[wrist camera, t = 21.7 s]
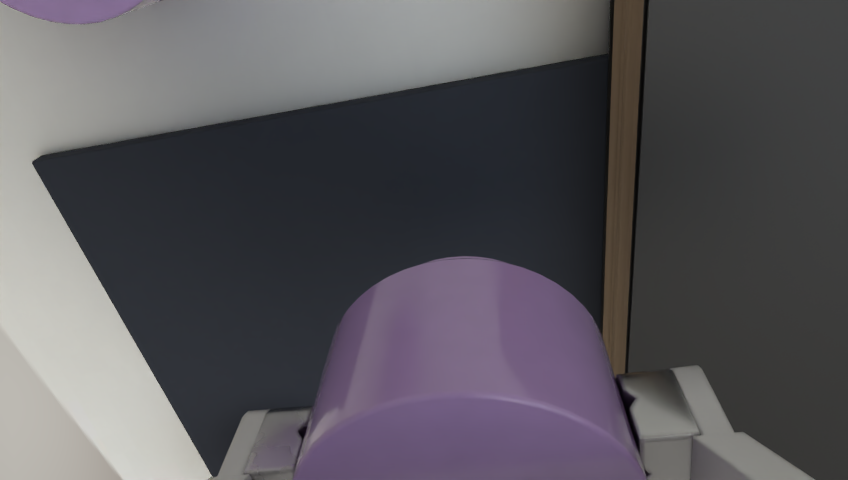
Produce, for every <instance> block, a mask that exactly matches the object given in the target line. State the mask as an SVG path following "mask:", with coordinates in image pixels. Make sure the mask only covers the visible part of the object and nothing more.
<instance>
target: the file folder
mask: <svg viewBox="0 0 848 480" xmlns="http://www.w3.org/2000/svg"><path fill="white" fill-rule="evenodd" d="M600 332H601V335H602V338H603V341H604V344H605V347H606V350H607V353H608V356H609V359H610V363H611V366H612V369H613V372H614V375H615V378H616V374H623V373H632V372H641V371H650V370H659V369H670V368H677V367H686V366H694V365H698V366H699V367H700V368H702V370H703V372H704V374H705V376H706V378H707V380H708V382H709V384H710V386H711V388H712V389H713V391H714V393H715V395H716V397H717V399H718V401H719V403H720V405H721V407H722V409H723V411H724V413H725V415H726V417H727V419H728V421H729V423H730V425H731V427H732V428H733V430H734V432H744V433H746V434H747V435H749V436H750V437H752V438H753V439H755V440H756V441H758V442H759V443H761V444H762V445H764V446H765V447H767V448H768V449H770V450H771V451H773V452H774V453H776V454H777V455H779V456H780V457H782V458H783V459H785V460H786V461H788V462H789V463H791V464H792V465H794V466H795V467H797V468H798V469H800V470H801V471H803V472H804V473H806V474H807V475H809V476H810V477H812V478H813V479H815V480H848V0H610V21H609V55H608V89H607V123H606V157H605V191H604V225H603V260H602V294H601V327H600Z"/></svg>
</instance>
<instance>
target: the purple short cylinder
mask: <svg viewBox="0 0 848 480" xmlns="http://www.w3.org/2000/svg"><path fill="white" fill-rule="evenodd" d="M159 1H162V0H0V2H2V3H4V4H5V5H7V6H9V7H11V8H13V9H15V10H18V11H20V12H23V13H25V14H28V15H30V16H33V17H36V18H40V19H43V20H47V21H50V22H57V23H64V24H90V23H98V22H103V21H106V20H109V19H113V18H116V17H119V16H121V15H124V14H127V13H129V12H132V11H135V10H138V9H140V8H143V7H146V6H148V5H151V4H154V3H157V2H159Z"/></svg>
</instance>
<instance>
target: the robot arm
mask: <svg viewBox="0 0 848 480" xmlns="http://www.w3.org/2000/svg"><path fill="white" fill-rule="evenodd" d="M616 382H617V385H618V388H619V391H620V395H621V398H622V401H623V404H624V407H625V410H626V413H627V416H628V420H629V423H630V426H631V429H632V433H633V436H634V439H635V442H636V445H637V448H638V451H639V455H640V458H641V461H642V464H643V467H644V470H645V473H646V477H647V480H815V479H813V478H812V477H810V476H809V475H807V474H806V473H804V472H803V471H801V470H800V469H798V468H797V467H795V466H794V465H792V464H791V463H789V462H788V461H786V460H785V459H783V458H782V457H780V456H779V455H777V454H776V453H774V452H773V451H771V450H770V449H768V448H767V447H765V446H764V445H762V444H761V443H759V442H758V441H756V440H755V439H753V438H752V437H750V436H749V435H747V434H746V433H744V432H734V430H733V428H732V427H731V425H730V423H729V421H728V419H727V417H726V415H725V413H724V411H723V409H722V407H721V405H720V403H719V401H718V399H717V397H716V395H715V393H714V391H713V389H712V388H711V386H710V384H709V382H708V380H707V378H706V376H705V374H704V372H703V370H702V368H700V367H699V366H698V365H694V366H686V367H677V368H670V369H659V370H650V371H641V372H632V373H623V374H616ZM312 408H313V406H301V407H288V408H275V409H268V410H254V411H248V412H247V413H246V414H245V415H243V417H242V419H241V421H240V424H239V426H238V428H237V431H236V433H235V435H234V438H233V440H232V443H231V445H230V447H229V450H228V452H227V454H226V457H225V459H224V462H223V464H222V466H221V469H220V471H219V473H218V476H217V477H210V478H209V479H208V480H292V478H293V474H294V471H295V467H296V464H297V460H298V457H299V453H300V450H301V446H302V443H303V439H304V436H305V432H306V429H307V426H308V422H309V419H310V415H311V412H312Z"/></svg>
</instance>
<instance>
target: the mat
mask: <svg viewBox="0 0 848 480" xmlns="http://www.w3.org/2000/svg"><path fill="white" fill-rule="evenodd" d="M608 55H609V54H605V55H600V56H594V57H589V58H583V59H577V60H572V61H566V62H561V63H555V64H550V65H544V66H538V67H533V68H527V69H522V70H516V71H511V72H505V73H499V74H494V75H488V76H483V77H477V78H472V79H466V80H461V81H455V82H449V83H444V84H438V85H433V86H427V87H422V88H416V89H410V90H405V91H399V92H394V93H388V94H383V95H377V96H371V97H366V98H360V99H355V100H349V101H344V102H338V103H332V104H327V105H321V106H316V107H310V108H305V109H299V110H293V111H288V112H282V113H277V114H271V115H266V116H260V117H255V118H249V119H243V120H238V121H232V122H227V123H221V124H216V125H210V126H204V127H199V128H193V129H188V130H182V131H177V132H171V133H165V134H160V135H154V136H149V137H143V138H138V139H132V140H126V141H121V142H115V143H110V144H104V145H99V146H93V147H87V148H82V149H76V150H71V151H65V152H60V153H54V154H49V155H43V156H41V157H39V158H37V159H36V160H34V161H33V162H32V164H33V166H34V167H35V169H36V171H37V173H38V174H39V176H40V178H41V180H42V181H43V183H44V185H45V187H46V188H47V190H48V192H49V193H50V195H51V197H52V199H53V200H54V202H55V204H56V206H57V207H58V209H59V211H60V213H61V214H62V216H63V218H64V219H65V221H66V223H67V225H68V226H69V228H70V230H71V232H72V233H73V235H74V237H75V239H76V240H77V242H78V244H79V246H80V247H81V249H82V251H83V252H84V254H85V256H86V258H87V259H88V261H89V263H90V265H91V266H92V268H93V270H94V272H95V273H96V275H97V277H98V278H99V280H100V282H101V284H102V285H103V287H104V289H105V291H106V292H107V294H108V296H109V298H110V299H111V301H112V303H113V305H114V306H115V308H116V310H117V311H118V313H119V315H120V317H121V318H122V320H123V322H124V324H125V325H126V327H127V329H128V331H129V332H130V334H131V336H132V337H133V339H134V341H135V343H136V344H137V346H138V348H139V350H140V351H141V353H142V355H143V357H144V358H145V360H146V362H147V364H148V365H149V367H150V369H151V370H152V372H153V374H154V376H155V377H156V379H157V381H158V383H159V384H160V386H161V388H162V390H163V391H164V393H165V395H166V396H167V398H168V400H169V402H170V403H171V405H172V407H173V409H174V410H175V412H176V414H177V416H178V417H179V419H180V421H181V423H182V424H183V426H184V428H185V429H186V431H187V433H188V435H189V436H190V438H191V440H192V442H193V443H194V445H195V447H196V449H197V450H198V452H199V454H200V455H201V457H202V459H203V461H204V462H205V464H206V466H207V468H208V469H209V471H210V473H211V475H212V476H213V477H217V476H218V473H219V471H220V469H221V466H222V464H223V462H224V459H225V457H226V454H227V452H228V450H229V447H230V445H231V443H232V440H233V438H234V435H235V433H236V431H237V428H238V426H239V424H240V421H241V419H242V417H243V415H245V414H246V413H247V412H248V411H254V410H268V409H275V408H288V407H301V406H313V405H314V401H315V398H316V394H317V391H318V387H319V384H320V380H321V377H322V373H323V370H324V367H325V363H326V360H327V356H328V353H329V349H330V346H331V342H332V339H333V335H334V333H335V331H336V329H337V326H338V324H339V322H340V320H341V319H342V317H343V316H344V314H345V313H346V311H347V310H348V309H349V307H350V306H351V305H352V304H353V303H354V302H355V301H356V300H357V299H358V298H359V297H360V296H361V295H362V294H363V293H365V292H366V291H367V290H368V289H370V288H371V287H372V286H374V285H375V284H377V283H378V282H380V281H382V280H383V279H385V278H387V277H388V276H391V275H393V274H395V273H397V272H399V271H402V270H404V269H407V268H410V267H413V266H416V265H420V264H423V263H426V262H429V261H432V260H436V259H441V258H446V257H457V256H478V257H485V258H492V259H496V260H499V261H503V262H507V263H509V264H513V265H517V266H520V267H523V268H526V269H528V270H531V271H534V272H536V273H539V274H541V275H543V276H544V277H546V278H548V279H550V280H552V281H554V282H556V283H557V284H558V285H560V286H561V287H562V288H564V289H565V290H567V291H568V292H569V293H571V294H572V295H573V296H574V297H575V298H576V299H577V300H578V301H579V302H580V303H581V304H582V305H583V306H584V307H585V308H586V309H587V311H588V312H589V313H590V315H591V316H592V317H593V319H594V321H595V322H596V324H597V326H598V328H599V330H600V327H601V294H602V260H603V225H604V191H605V157H606V123H607V89H608Z"/></svg>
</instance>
